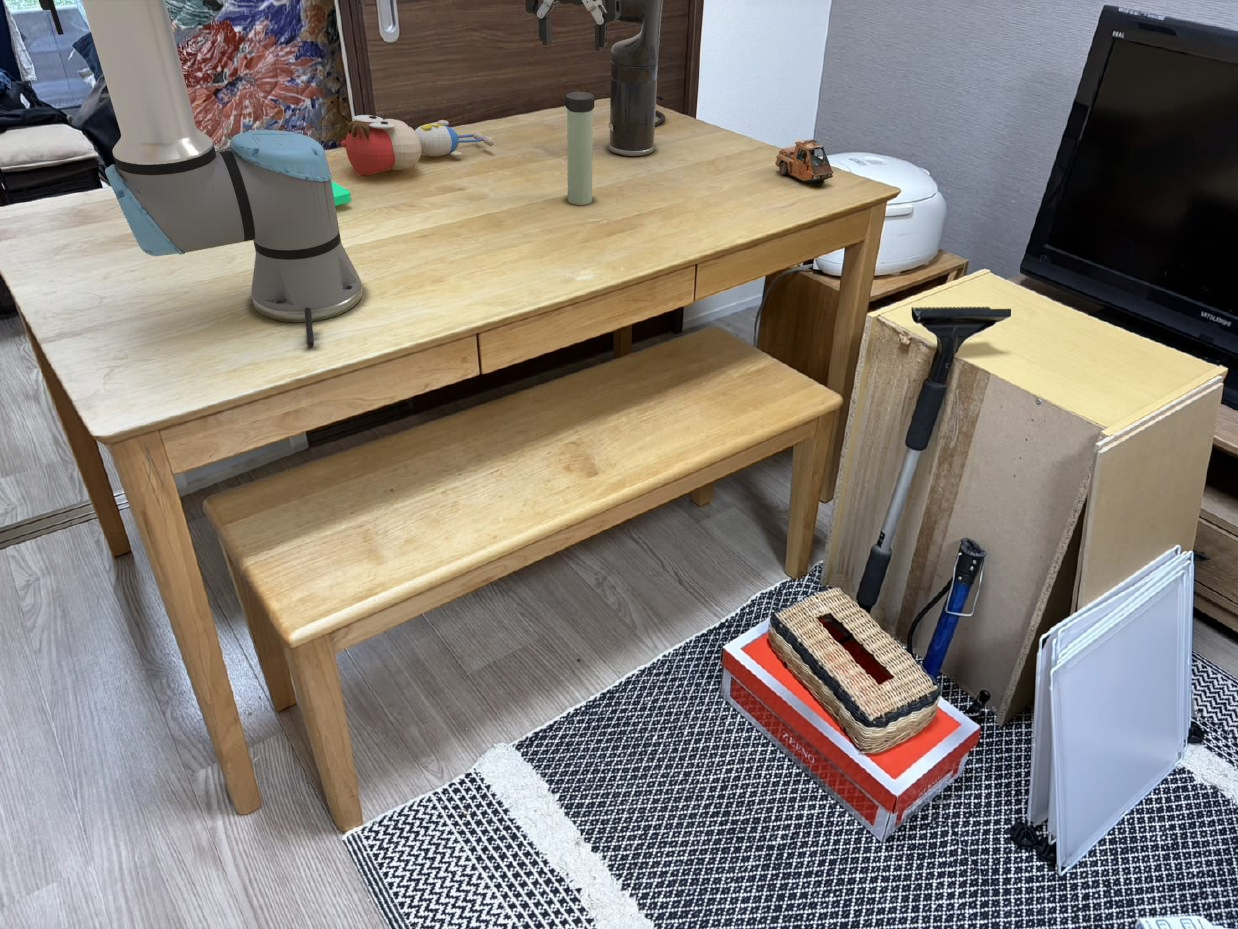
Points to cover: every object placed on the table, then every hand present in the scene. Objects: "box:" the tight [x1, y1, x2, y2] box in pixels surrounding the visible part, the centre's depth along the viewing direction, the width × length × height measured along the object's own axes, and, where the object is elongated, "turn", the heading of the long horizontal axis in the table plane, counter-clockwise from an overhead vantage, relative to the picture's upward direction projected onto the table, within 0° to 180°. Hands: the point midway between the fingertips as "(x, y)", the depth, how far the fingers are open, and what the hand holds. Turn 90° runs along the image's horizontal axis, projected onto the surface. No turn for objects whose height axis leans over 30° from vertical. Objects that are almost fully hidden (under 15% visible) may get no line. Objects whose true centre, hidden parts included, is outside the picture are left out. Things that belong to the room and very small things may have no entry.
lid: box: [565, 91, 596, 112], centre depth 158 cm, size 5×5×2 cm
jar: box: [566, 108, 594, 206], centre depth 163 cm, size 4×4×18 cm
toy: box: [340, 114, 495, 176], centre depth 180 cm, size 18×10×30 cm
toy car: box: [774, 138, 834, 187], centre depth 178 cm, size 6×12×7 cm, turn 39°
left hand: (108, 29), depth 146 cm, fingers open, 13 cm apart
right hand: (573, 47), depth 141 cm, fingers open, 8 cm apart
